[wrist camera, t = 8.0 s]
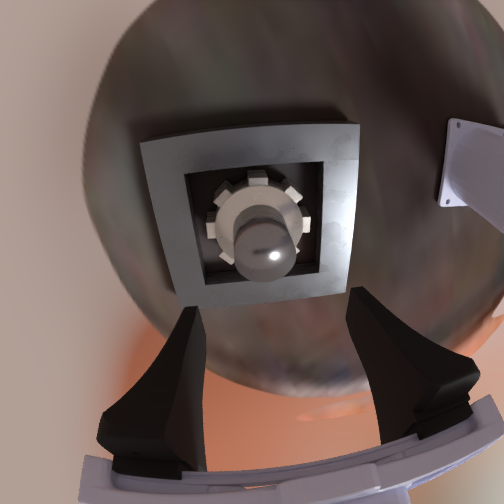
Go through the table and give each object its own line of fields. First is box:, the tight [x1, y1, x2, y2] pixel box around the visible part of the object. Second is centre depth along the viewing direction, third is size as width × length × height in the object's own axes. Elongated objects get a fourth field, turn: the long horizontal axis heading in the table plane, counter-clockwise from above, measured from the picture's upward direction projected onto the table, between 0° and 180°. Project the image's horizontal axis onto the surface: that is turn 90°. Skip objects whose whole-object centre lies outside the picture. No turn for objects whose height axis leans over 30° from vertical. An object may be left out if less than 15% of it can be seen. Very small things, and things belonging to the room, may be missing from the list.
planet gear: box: [206, 169, 311, 283], centre depth 19 cm, size 7×7×6 cm
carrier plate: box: [140, 121, 360, 311], centre depth 21 cm, size 14×14×2 cm
